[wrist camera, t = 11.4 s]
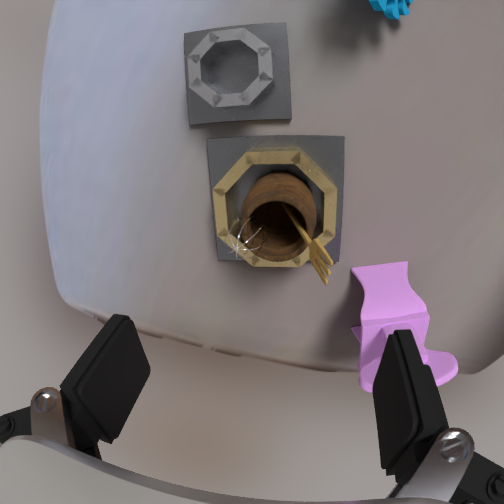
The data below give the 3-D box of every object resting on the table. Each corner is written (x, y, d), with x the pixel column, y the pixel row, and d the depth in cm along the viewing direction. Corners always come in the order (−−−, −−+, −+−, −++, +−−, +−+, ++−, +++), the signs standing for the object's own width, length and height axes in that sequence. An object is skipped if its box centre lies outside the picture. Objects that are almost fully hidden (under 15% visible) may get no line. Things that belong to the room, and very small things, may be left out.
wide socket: (343, 136, 24) (350, 139, 21) (338, 258, 29) (342, 277, 26) (208, 138, 26) (196, 142, 23) (219, 257, 31) (211, 275, 28)
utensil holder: (251, 164, 26) (219, 205, 15) (322, 175, 25) (342, 224, 15) (244, 226, 28) (214, 300, 18) (310, 236, 28) (318, 316, 17)
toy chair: (342, 333, 34) (355, 445, 20) (341, 269, 30) (365, 385, 17) (408, 324, 32) (444, 427, 19) (416, 259, 28) (476, 362, 15)
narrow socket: (286, 24, 20) (285, 12, 17) (291, 118, 24) (291, 119, 21) (186, 34, 21) (171, 25, 18) (191, 124, 25) (177, 126, 22)
